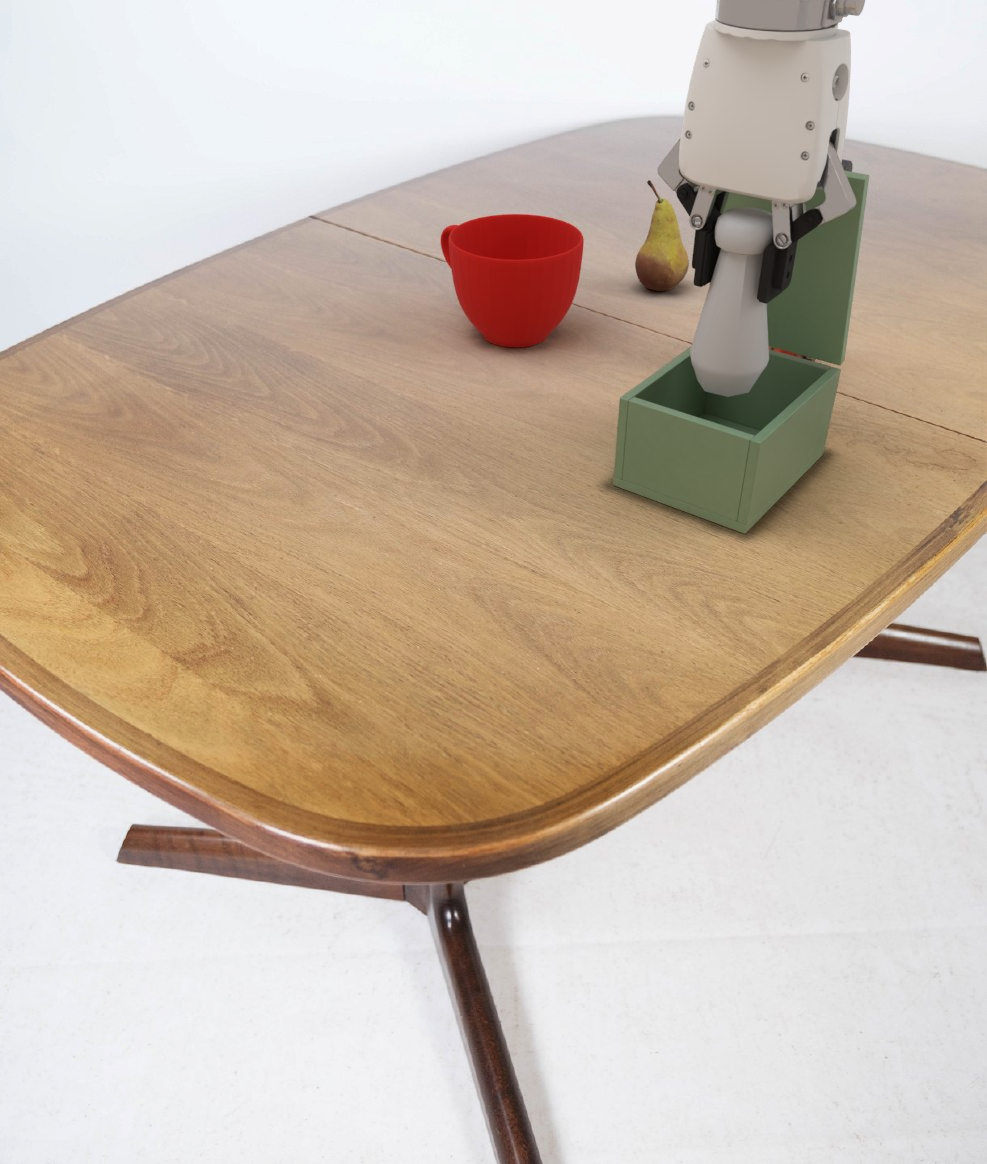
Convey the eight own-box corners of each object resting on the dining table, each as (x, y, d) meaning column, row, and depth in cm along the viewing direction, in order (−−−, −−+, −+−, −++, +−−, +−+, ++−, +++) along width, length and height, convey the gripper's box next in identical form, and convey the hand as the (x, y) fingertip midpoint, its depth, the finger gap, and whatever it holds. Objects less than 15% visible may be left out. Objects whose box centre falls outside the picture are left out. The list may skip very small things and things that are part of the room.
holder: (745, 534, 80) (760, 443, 76) (612, 485, 86) (619, 397, 81) (823, 454, 90) (841, 368, 85) (699, 414, 95) (709, 332, 91)
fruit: (684, 300, 116) (696, 186, 109) (631, 296, 117) (639, 183, 110) (687, 280, 120) (699, 170, 113) (636, 277, 121) (644, 167, 114)
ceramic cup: (489, 288, 119) (488, 196, 113) (605, 334, 109) (611, 236, 103) (399, 322, 111) (393, 226, 105) (515, 374, 102) (516, 271, 96)
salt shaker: (778, 394, 81) (809, 220, 73) (712, 407, 79) (736, 231, 71) (736, 362, 85) (761, 195, 77) (672, 374, 83) (691, 204, 75)
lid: (865, 179, 74) (894, 148, 76) (712, 151, 79) (744, 122, 82) (840, 366, 85) (866, 333, 87) (708, 329, 90) (736, 299, 93)
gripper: (934, 9, 65) (871, 299, 76) (686, -17, 73) (661, 249, 84) (889, 28, 60) (828, 335, 71) (629, -2, 68) (610, 278, 79)
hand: (738, 286), depth 77 cm, fingers closed on salt shaker, 4 cm apart
